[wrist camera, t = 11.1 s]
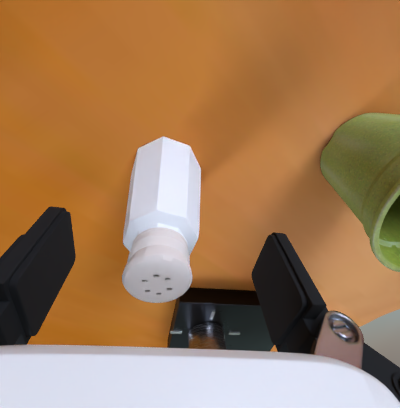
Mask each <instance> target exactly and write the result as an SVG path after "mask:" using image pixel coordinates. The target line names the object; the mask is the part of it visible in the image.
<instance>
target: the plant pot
mask: <svg viewBox="0 0 400 408" xmlns="http://www.w3.org/2000/svg"><path fill="white" fill-rule="evenodd" d="M320 166H321V172H322V174H323V176H324V177H325V179H326V180H327V181H328V182H329V183H330V185H331V186H332V187H333V188H334V190H335V191H336V192H337V193H338V194H339V196H340V197H341V198H342V199H343V201H344V202H345V203H346V204H347V205H348V207H349V208H350V209H351V210H352V212H353V213H354V214H355V215H356V217H357V218H358V219H359V220H360V221H361V223H362V224H363V227H364V229H365V232H366V234H367V235H368V237H369V238H370V245H371V249H372V251H373V253H374V255H375V256H376V258H377V259H378V260H379V261H380V262H381V263H382V264H383V265H384V266H386V267H387V268H389V269H391V270H394V271H397V272H400V115H396V114H384V113H366V114H362V115H359V116H357V117H354V118H352V119H350V120H349V121H347V122H346V123H344V124H343V125H341V126H340V127H339V128H338V129H337V130H336V131H335V132H334V134H333V137H332V138H331V140H330V142H329V143H328V145H327V146H326V147H325V148H324V149H323V151H322V155H321V160H320Z"/></svg>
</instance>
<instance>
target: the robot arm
mask: <svg viewBox="0 0 400 408" xmlns="http://www.w3.org/2000/svg"><path fill="white" fill-rule="evenodd" d="M74 262H75V248H74V240H73V232H72V224H71V216H70V212H66V209H65V208H59V207H49V208H48V209H47V210H46V211H45V212H44V213H43V214H42V215H41V217H40V218H39V219H38V220H37V221H36V222H35V223H34V224H33V226H32V227H31V228H30V229H29V230H28V231H27V232H26V234H25V235H21V236H20V237H19V238H18V239H17V240H16V241H15V242H14V243H13V244H12V245H11V246H10V248H9V249H8V250H7V251H6V252H5V253H4V254H3V255H2V256H1V258H0V408H400V368H399V367H398V366H397V365H395V364H393V363H392V362H391V361H389V360H388V359H387V358H385V357H384V356H382V355H381V354H379V353H378V352H377V351H375V350H374V349H372V348H371V347H370V346H368V345H367V344H365V343H364V338H363V334H362V332H361V330H360V328H359V327H358V326H357V324H356V323H355V322H354V321H353V320H352V319H350V318H349V317H348V316H346V315H345V314H343V313H341V312H337V311H328V310H327V308H326V304H325V302H324V300H323V299H322V297H321V295H320V293H319V292H318V290H317V288H316V286H315V285H314V283H313V281H312V279H311V278H310V276H309V274H308V272H307V271H306V269H305V267H304V265H303V264H302V262H301V260H300V258H299V257H298V255H297V253H296V251H295V250H294V248H293V246H292V244H291V243H290V241H289V239H288V237H287V236H286V234H283V233H272V234H271V235H269V236H268V237H267V239H266V242H265V244H264V246H263V248H262V250H261V253H260V255H259V257H258V259H257V262H256V264H255V266H254V268H253V271H252V280H253V283H254V286H255V289H256V293H257V296H258V299H259V302H260V306H261V309H262V312H263V315H264V319H265V322H266V325H267V328H268V332H269V335H270V338H271V341H272V343H273V344H274V345H276V348H277V351H278V352H269V351H244V350H217V349H188V348H156V347H122V346H85V345H27V343H28V341H29V339H30V338H31V336H35V335H36V334H37V333H38V331H39V329H40V327H41V325H42V323H43V322H44V320H45V318H46V316H47V314H48V312H49V310H50V308H51V306H52V304H53V302H54V301H55V299H56V297H57V295H58V293H59V291H60V289H61V287H62V285H63V283H64V281H65V279H66V278H67V276H68V274H69V272H70V270H71V268H72V266H73V264H74Z"/></svg>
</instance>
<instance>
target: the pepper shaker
mask: <svg viewBox="0 0 400 408" xmlns="http://www.w3.org/2000/svg"><path fill="white" fill-rule="evenodd" d="M200 186H201V168H200V166H199V164H198V162H197V160H196V157H195V155H194V153H193V151H192V149H191V147H190V146H189V145H186V144H183V143H180V142H177V141H175V140H172V139H169V138H166V137H161V138H159V139H157V140H155V141H152V142H150V143H148V144H146V145H144V146H142V147H140V148H138V151H137V154H136V158H135V162H134V166H133V169H132V174H131V181H130V189H129V196H128V204H127V211H126V219H125V226H124V234H123V244H124V245H125V247H126V248H127V249H128V250H129V251H130V253H129V257H128V263H127V265H126V266H125V269H124V272H123V275H122V282H123V285H124V287H125V289H126V290H127V291H128V292H129V293H130V294H131V295H132V296H134V297H135V298H137V299H139V300H142V301H145V302H152V303H162V302H168V301H171V300H174V299H177V298H178V297H180V296H182V295H183V294H184V293H185V292H186V291H187V290H188V289H189V287H190V285H191V283H192V272H191V268H190V266H189V264H190V261H189V259H190V258H189V256H190V254H191V252H192V250H193V248H194V246H195V244H196V242H197V240H198V236H199V221H200Z"/></svg>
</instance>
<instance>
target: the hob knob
mask: <svg viewBox="0 0 400 408" xmlns="http://www.w3.org/2000/svg"><path fill="white" fill-rule="evenodd" d="M188 349H217V350H227V345H226V339H225V333H224V329H223V327H222V326H221V325H219V324H217V323H212V322H206V323H200V324H197V325H195V326H193V327H192V328H191V329H190V330H189V331H188Z"/></svg>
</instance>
